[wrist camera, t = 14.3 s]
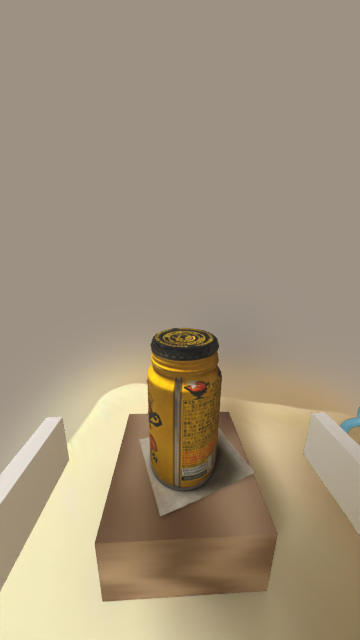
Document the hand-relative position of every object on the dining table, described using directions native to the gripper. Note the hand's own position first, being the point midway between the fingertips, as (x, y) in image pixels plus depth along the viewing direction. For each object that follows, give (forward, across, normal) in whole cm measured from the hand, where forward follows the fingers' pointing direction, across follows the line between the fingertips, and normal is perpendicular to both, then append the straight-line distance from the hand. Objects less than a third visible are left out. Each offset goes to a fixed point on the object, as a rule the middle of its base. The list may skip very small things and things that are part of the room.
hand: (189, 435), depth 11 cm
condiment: (+6, +1, -9) cm, 11 cm away
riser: (+6, 0, -15) cm, 16 cm away
